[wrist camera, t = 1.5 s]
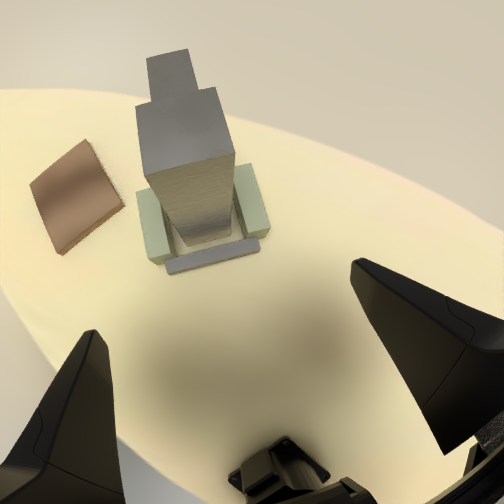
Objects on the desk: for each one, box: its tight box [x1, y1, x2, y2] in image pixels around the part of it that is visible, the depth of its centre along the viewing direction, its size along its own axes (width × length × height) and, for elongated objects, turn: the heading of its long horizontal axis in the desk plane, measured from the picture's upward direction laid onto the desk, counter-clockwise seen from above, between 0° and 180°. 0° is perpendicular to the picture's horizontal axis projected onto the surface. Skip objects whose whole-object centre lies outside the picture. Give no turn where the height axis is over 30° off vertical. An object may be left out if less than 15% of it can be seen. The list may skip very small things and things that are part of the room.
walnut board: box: [29, 139, 125, 255], centre depth 22 cm, size 8×7×1 cm
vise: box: [136, 163, 271, 275], centre depth 22 cm, size 6×9×3 cm
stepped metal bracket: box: [135, 49, 235, 247], centre depth 17 cm, size 6×3×13 cm, turn 15°
